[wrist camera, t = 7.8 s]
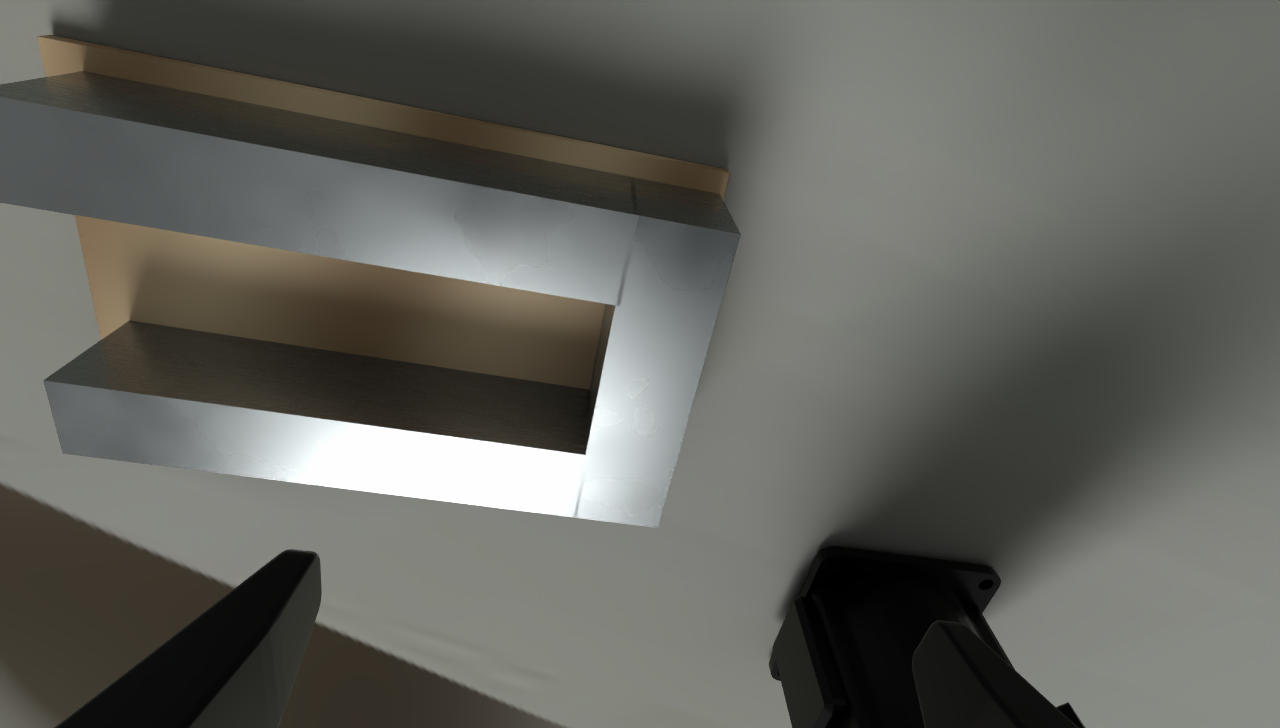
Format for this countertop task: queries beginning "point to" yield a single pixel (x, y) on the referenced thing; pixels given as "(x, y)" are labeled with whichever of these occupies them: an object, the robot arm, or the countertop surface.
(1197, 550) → the countertop surface
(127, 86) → the metal u-shaped bracket
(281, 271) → the mat
